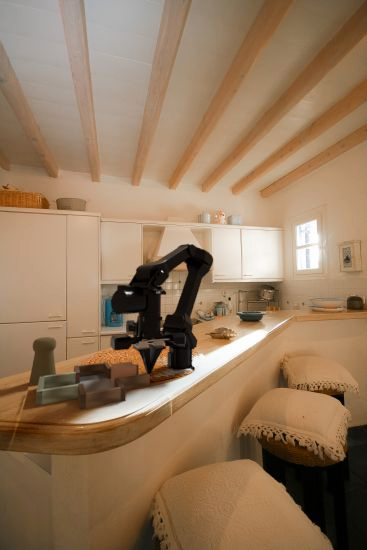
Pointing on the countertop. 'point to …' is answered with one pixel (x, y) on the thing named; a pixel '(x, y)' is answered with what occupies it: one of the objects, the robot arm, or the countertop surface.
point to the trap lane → (88, 386)
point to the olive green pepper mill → (43, 359)
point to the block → (122, 370)
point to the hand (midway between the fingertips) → (148, 373)
